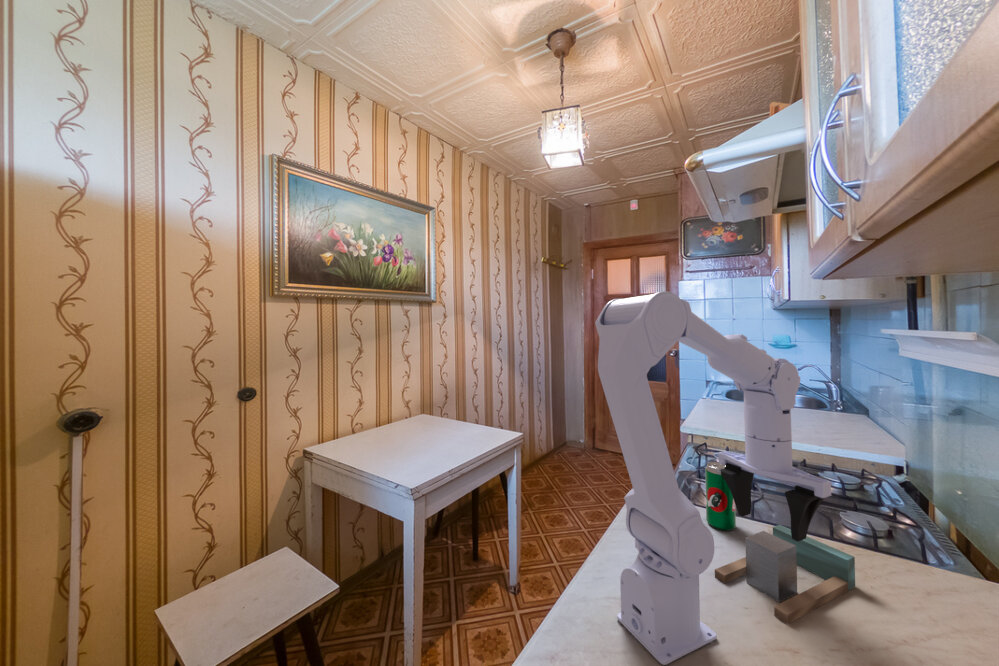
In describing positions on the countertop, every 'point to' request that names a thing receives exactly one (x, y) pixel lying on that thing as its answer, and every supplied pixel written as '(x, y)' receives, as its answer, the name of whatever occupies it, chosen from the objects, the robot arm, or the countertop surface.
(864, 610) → the countertop surface
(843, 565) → the guide channel
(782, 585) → the block
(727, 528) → the soda can
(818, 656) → the countertop surface
